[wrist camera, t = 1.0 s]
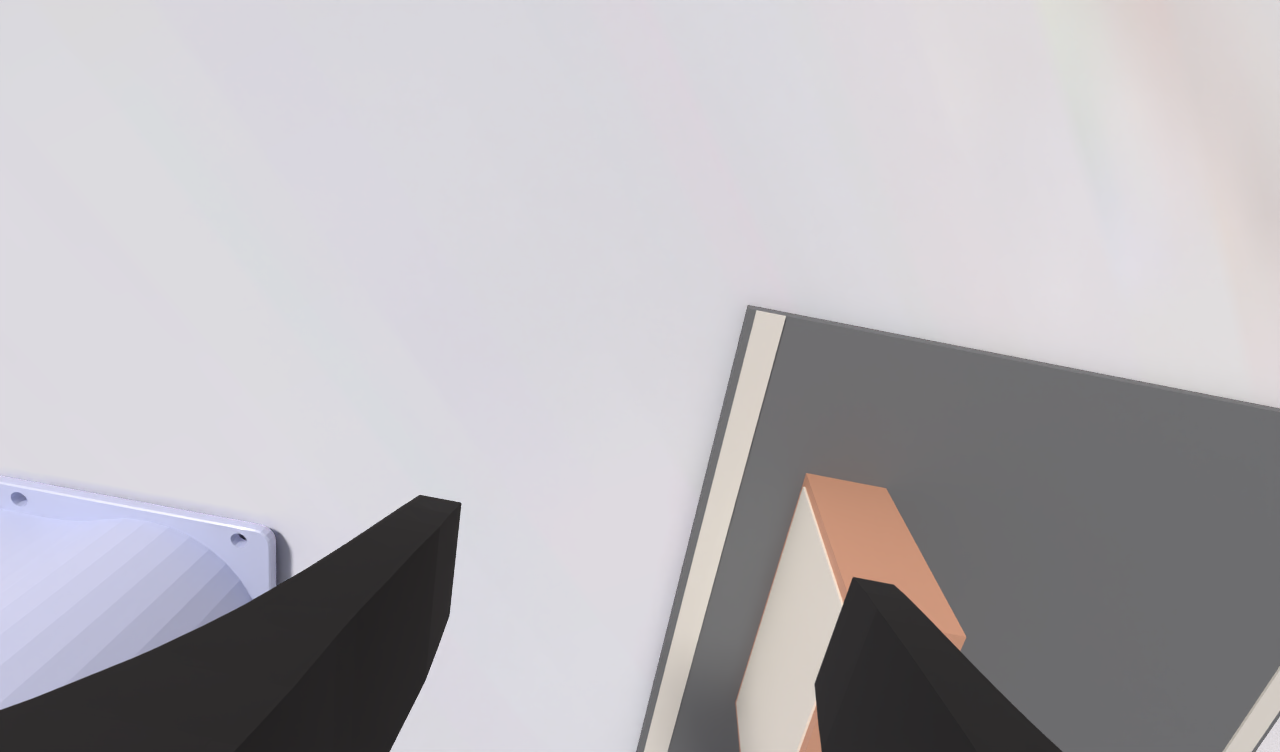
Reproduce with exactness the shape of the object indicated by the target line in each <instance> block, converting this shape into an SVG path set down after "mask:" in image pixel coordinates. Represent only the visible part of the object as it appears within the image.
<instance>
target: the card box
mask: <svg viewBox="0 0 1280 752" xmlns="http://www.w3.org/2000/svg"><path fill="white" fill-rule="evenodd" d="M853 577H857V578H862V579H867V580H872V581H878V582H883V583H888V584H894V585H895V586H896V587H897V588H898V589H899V590H901V591H902V592H903V593H904V594H905V595H906V596H907V597H908V598H909V599H910V600H911V601H912V602H913V603H914V604H915V605H916V606H917V607H918V608H919V609H920V610H921V611H922V612H923V613H924V614H925V615H926V616H927V617H928V618H929V619H930V620H931V621H932V622H933V623H934V624H935V625H936V626H937V627H938V628H939V630H940V631H941V632H942V633H943V634H944V635H945V636H946V637H947V638H948V639H949V640H950V641H951V642H952V643H953V644H954V645H955V646H956V647H957V648H958V649H959V650H961V648H962V646H963V644H964V642H965V639H966V635H965V633H964V631H963V630H962V628H961V626H960V624H959V622H958V620H957V618H956V617H955V615H954V613H953V611H952V609H951V607H950V605H949V604H948V602H947V600H946V598H945V596H944V594H943V593H942V591H941V589H940V587H939V585H938V583H937V581H936V580H935V578H934V576H933V574H932V572H931V570H930V568H929V567H928V565H927V563H926V561H925V559H924V557H923V556H922V554H921V552H920V550H919V548H918V546H917V544H916V543H915V541H914V539H913V537H912V535H911V533H910V531H909V530H908V528H907V526H906V524H905V522H904V520H903V518H902V517H901V515H900V513H899V511H898V509H897V507H896V506H895V504H894V502H893V500H892V498H891V496H890V494H889V493H888V491H887V489H886V488H882V487H877V486H872V485H866V484H861V483H856V482H851V481H845V480H840V479H835V478H830V477H825V476H819V475H814V474H809V473H806V475H805V478H804V482H803V485H802V488H801V491H800V495H799V498H798V501H797V504H796V508H795V511H794V514H793V517H792V520H791V524H790V527H789V530H788V533H787V537H786V540H785V543H784V546H783V550H782V553H781V556H780V559H779V563H778V566H777V569H776V572H775V575H774V579H773V582H772V585H771V588H770V592H769V595H768V598H767V601H766V605H765V608H764V611H763V614H762V617H761V621H760V624H759V627H758V630H757V634H756V637H755V640H754V643H753V647H752V650H751V653H750V656H749V659H748V663H747V666H746V669H745V672H744V676H743V679H742V682H741V685H740V689H739V692H738V695H737V698H736V702H735V706H736V717H737V728H738V738H739V749H740V752H822V751H821V742H820V734H819V726H818V717H817V706H816V696H815V685H814V684H815V681H816V678H817V675H818V672H819V670H820V667H821V664H822V661H823V659H824V656H825V653H826V650H827V647H828V645H829V642H830V639H831V636H832V633H833V631H834V628H835V625H836V622H837V620H838V617H839V614H840V611H841V608H842V606H843V603H844V600H845V597H846V594H847V592H848V589H849V586H850V583H851V581H852V578H853Z"/></svg>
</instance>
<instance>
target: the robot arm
mask: <svg viewBox="0 0 1280 752" xmlns="http://www.w3.org/2000/svg"><path fill="white" fill-rule="evenodd" d="M460 511H461V503H460V502H455V501H449V500H444V499H439V498H433V497H428V496H423V495H419V496H417V497H416V498H414V499H413V500H411V501H410V502H408V503H406V504H405V505H403V506H402V507H400V508H399V509H397V510H396V511H394V512H393V513H391V514H390V515H388V516H387V517H385V518H384V519H382V520H381V521H379V522H378V523H376V524H375V525H373V526H372V527H370V528H369V529H367V530H366V531H364V532H363V533H361V534H360V535H358V536H357V537H355V538H354V539H352V540H351V541H349V542H348V543H346V544H345V545H343V546H341V547H340V548H338V549H337V550H335V551H334V552H332V553H330V554H329V555H327V556H326V557H324V558H323V559H321V560H319V561H318V562H316V563H315V564H313V565H312V566H310V567H308V568H307V569H305V570H303V571H302V572H300V573H298V574H297V575H295V576H293V577H291V578H290V579H288V580H286V581H284V582H283V583H281V584H279V585H277V586H276V538H275V535H274V533H273V532H272V530H271V529H269V528H268V527H267V526H264V525H261V524H257V523H251V522H246V521H241V520H235V519H230V518H225V517H220V516H214V515H209V514H204V513H198V512H193V511H188V510H182V509H177V508H172V507H166V506H161V505H156V504H150V503H145V502H140V501H134V500H129V499H124V498H118V497H113V496H108V495H102V494H97V493H92V492H86V491H81V490H76V489H70V488H65V487H60V486H54V485H49V484H44V483H38V482H33V481H28V480H22V479H17V478H12V477H6V476H1V475H0V752H390V750H391V748H392V746H393V744H394V742H395V740H396V738H397V736H398V734H399V732H400V730H401V728H402V726H403V724H404V722H405V720H406V718H407V716H408V714H409V712H410V710H411V708H412V706H413V704H414V702H415V700H416V698H417V696H418V694H419V692H420V690H421V688H422V686H423V684H424V682H425V680H426V678H427V675H428V672H429V670H430V667H431V664H432V662H433V659H434V657H435V654H436V651H437V649H438V646H439V643H440V640H441V638H442V635H443V632H444V629H445V626H446V624H447V621H448V618H449V614H450V605H451V596H452V586H453V577H454V567H455V558H456V549H457V539H458V530H459V520H460ZM238 533H239V534H241V535H243V536H244V537H245V538H246V540H244V539H242V538H241V537H240V536H239V534H238ZM814 685H815V696H816V706H817V717H818V726H819V734H820V742H821V751H822V752H1062V751H1061V750H1060V749H1059V748H1058V747H1057V746H1056V745H1055V744H1054V743H1053V742H1052V741H1051V740H1050V739H1048V738H1047V737H1046V736H1045V735H1044V734H1043V733H1042V732H1041V731H1040V730H1039V729H1038V728H1037V727H1036V726H1035V725H1033V724H1032V723H1031V722H1030V721H1029V720H1028V719H1027V718H1026V717H1025V716H1024V715H1023V714H1022V713H1021V712H1020V711H1019V710H1018V709H1017V708H1016V707H1015V706H1014V705H1013V704H1012V703H1011V702H1010V701H1009V700H1008V699H1007V698H1006V697H1005V696H1004V695H1003V694H1002V693H1001V692H1000V691H999V690H998V689H997V688H996V687H995V686H994V685H993V684H992V683H991V682H990V681H989V680H988V679H987V678H986V677H985V676H984V675H983V674H982V673H981V672H980V671H979V670H978V669H977V668H976V667H975V666H974V665H973V664H972V663H971V662H970V661H969V660H968V659H967V658H966V657H965V656H964V654H963V653H962V652H961V651H960V650H959V649H958V648H957V647H956V646H955V645H954V644H953V643H952V642H951V641H950V640H949V639H948V638H947V637H946V636H945V635H944V634H943V633H942V632H941V631H940V630H939V628H938V627H937V626H936V625H935V624H934V623H933V622H932V621H931V620H930V619H929V618H928V617H927V616H926V615H925V614H924V613H923V612H922V611H921V610H920V609H919V608H918V607H917V606H916V605H915V604H914V603H913V602H912V601H911V600H910V599H909V598H908V597H907V596H906V595H905V594H904V593H903V592H902V591H901V590H899V589H898V588H897V587H896V586H895V585H894V584H888V583H883V582H878V581H872V580H867V579H862V578H857V577H853V578H852V581H851V583H850V586H849V589H848V592H847V594H846V597H845V600H844V603H843V606H842V608H841V611H840V614H839V617H838V620H837V622H836V625H835V628H834V631H833V633H832V636H831V639H830V642H829V645H828V647H827V650H826V653H825V656H824V659H823V661H822V664H821V667H820V670H819V672H818V675H817V678H816V681H815V684H814Z"/></svg>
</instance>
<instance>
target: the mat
mask: <svg viewBox="0 0 1280 752" xmlns="http://www.w3.org/2000/svg"><path fill="white" fill-rule="evenodd" d="M806 473H809V474H814V475H819V476H825V477H830V478H835V479H840V480H845V481H851V482H856V483H861V484H866V485H872V486H877V487H882V488H886V489H887V491H888V493H889V494H890V496H891V498H892V500H893V502H894V504H895V506H896V507H897V509H898V511H899V513H900V515H901V517H902V518H903V520H904V522H905V524H906V526H907V528H908V530H909V531H910V533H911V535H912V537H913V539H914V541H915V543H916V544H917V546H918V548H919V550H920V552H921V554H922V556H923V557H924V559H925V561H926V563H927V565H928V567H929V568H930V570H931V572H932V574H933V576H934V578H935V580H936V581H937V583H938V585H939V587H940V589H941V591H942V593H943V594H944V596H945V598H946V600H947V602H948V604H949V605H950V607H951V609H952V611H953V613H954V615H955V617H956V618H957V620H958V622H959V624H960V626H961V628H962V630H963V631H964V633H965V635H966V639H965V642H964V644H963V646H962V648H961V650H960V651H961V652H962V653H963V654H964V656H965V657H966V658H967V659H968V660H969V661H970V662H971V663H972V664H973V665H974V666H975V667H976V668H977V669H978V670H979V671H980V672H981V673H982V674H983V675H984V676H985V677H986V678H987V679H988V680H989V681H990V682H991V683H992V684H993V685H994V686H995V687H996V688H997V689H998V690H999V691H1000V692H1001V693H1002V694H1003V695H1004V696H1005V697H1006V698H1007V699H1008V700H1009V701H1010V702H1011V703H1012V704H1013V705H1014V706H1015V707H1016V708H1017V709H1018V710H1019V711H1020V712H1021V713H1022V714H1023V715H1024V716H1025V717H1026V718H1027V719H1028V720H1029V721H1030V722H1031V723H1032V724H1033V725H1035V726H1036V727H1037V728H1038V729H1039V730H1040V731H1041V732H1042V733H1043V734H1044V735H1045V736H1046V737H1047V738H1048V739H1050V740H1051V741H1052V742H1053V743H1054V744H1055V745H1056V746H1057V747H1058V748H1059V749H1060V750H1061V751H1062V752H1256V750H1257V749H1258V747H1259V746H1260V744H1261V743H1262V741H1263V740H1264V739H1265V737H1266V736H1267V734H1268V733H1269V731H1270V730H1271V728H1272V727H1273V725H1274V724H1275V723H1276V721H1277V720H1278V718H1279V717H1280V409H1279V408H1274V407H1269V406H1264V405H1258V404H1253V403H1248V402H1243V401H1238V400H1233V399H1228V398H1222V397H1217V396H1212V395H1207V394H1202V393H1197V392H1192V391H1187V390H1181V389H1176V388H1171V387H1166V386H1161V385H1156V384H1151V383H1145V382H1140V381H1135V380H1130V379H1125V378H1120V377H1115V376H1110V375H1104V374H1099V373H1094V372H1089V371H1084V370H1079V369H1074V368H1069V367H1063V366H1058V365H1053V364H1048V363H1043V362H1038V361H1033V360H1027V359H1022V358H1017V357H1012V356H1007V355H1002V354H997V353H992V352H986V351H981V350H976V349H971V348H966V347H961V346H956V345H950V344H945V343H940V342H935V341H930V340H925V339H920V338H915V337H909V336H904V335H899V334H894V333H889V332H884V331H879V330H873V329H868V328H863V327H858V326H853V325H848V324H843V323H838V322H832V321H827V320H822V319H817V318H812V317H807V316H802V315H797V314H791V313H786V312H781V311H776V310H771V309H766V308H761V307H755V306H750V305H748V306H747V310H746V314H745V318H744V322H743V326H742V330H741V334H740V338H739V342H738V346H737V350H736V354H735V358H734V362H733V366H732V370H731V374H730V378H729V382H728V386H727V390H726V394H725V398H724V402H723V406H722V410H721V414H720V419H719V423H718V427H717V431H716V435H715V439H714V443H713V447H712V451H711V455H710V459H709V463H708V467H707V471H706V475H705V479H704V483H703V487H702V491H701V495H700V499H699V503H698V507H697V511H696V515H695V519H694V523H693V527H692V531H691V535H690V539H689V543H688V547H687V551H686V555H685V559H684V563H683V567H682V571H681V575H680V579H679V583H678V587H677V591H676V595H675V599H674V603H673V607H672V611H671V615H670V619H669V623H668V627H667V631H666V635H665V639H664V643H663V647H662V651H661V655H660V659H659V663H658V667H657V671H656V675H655V679H654V683H653V687H652V691H651V695H650V699H649V703H648V707H647V711H646V715H645V719H644V723H643V727H642V731H641V735H640V739H639V743H638V747H637V751H636V752H740V749H739V738H738V728H737V717H736V706H735V702H736V698H737V695H738V692H739V689H740V685H741V682H742V679H743V676H744V672H745V669H746V666H747V663H748V659H749V656H750V653H751V650H752V647H753V643H754V640H755V637H756V634H757V630H758V627H759V624H760V621H761V617H762V614H763V611H764V608H765V605H766V601H767V598H768V595H769V592H770V588H771V585H772V582H773V579H774V575H775V572H776V569H777V566H778V563H779V559H780V556H781V553H782V550H783V546H784V543H785V540H786V537H787V533H788V530H789V527H790V524H791V520H792V517H793V514H794V511H795V508H796V504H797V501H798V498H799V495H800V491H801V488H802V485H803V482H804V478H805V475H806Z"/></svg>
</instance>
